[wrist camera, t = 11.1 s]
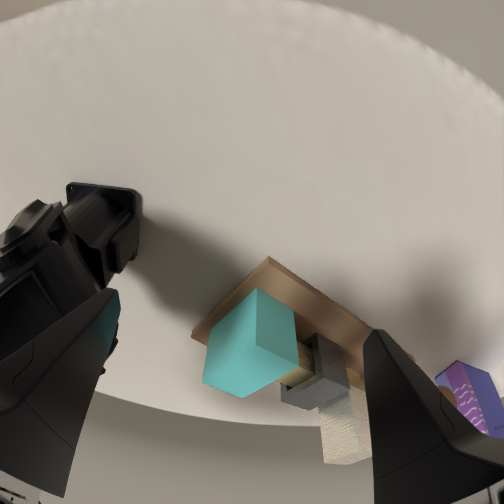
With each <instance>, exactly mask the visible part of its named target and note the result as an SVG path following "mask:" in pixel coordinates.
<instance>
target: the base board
mask: <svg viewBox="0 0 504 504" xmlns="http://www.w3.org/2000/svg"><path fill="white" fill-rule="evenodd" d="M256 287H257V288H258V289H260V290H262V291H263V292H265V293H266V294H268V295H270V296H271V297H273V298H275V299H276V300H278V301H279V302H281V303H283V304H284V305H286V306H288V307H289V308H291V309H292V310H293V314H294V322H295V331H296V340H297V342H299V343H302V342H303V341H305V340H306V339H307V338H309V337H310V336H312V335H313V334H315V333H316V332H317V333H319V334H321V335H322V336H324V337H326V338H328V339H329V340H331V341H333V342H335V343H336V344H338V345H340V346H341V347H342V352H343V356H344V360H345V365H346V367H348V368H350V369H352V370H354V371H356V372H358V373H359V374H360V378H361V382H362V386H363V391H365V385H364V367H363V344H364V342H365V340H366V339H367V337H368V336H369V334H370V333H371V331H372V330H373V329H372V328H371V327H369V326H368V325H366V324H365V323H364V322H362V321H361V320H359V319H358V318H356V317H355V316H354V315H352V314H351V313H349V312H348V311H346V310H345V309H344V308H342V307H341V306H339V305H338V304H336V303H335V302H334V301H332V300H331V299H329V298H328V297H326V296H325V295H324V294H322V293H321V292H319V291H318V290H316V289H315V288H314V287H312V286H311V285H309V284H308V283H306V282H305V281H304V280H302V279H301V278H299V277H298V276H296V275H295V274H293V273H292V272H291V271H289V270H288V269H286V268H285V267H283V266H282V265H281V264H279V263H278V262H276V261H275V260H273V259H272V258H270V257H269V256H268V257H267V258H266V259H265V260H264V261H263V262H262V263H261V264H260V265H259V266H258V267H257V268H256V269H255V270H254V271H253V272H252V273H251V274H250V275H249V276H248V277H247V278H246V279H245V280H244V281H243V282H242V283H241V284H240V285H239V286H238V287H237V288H236V289H235V290H234V291H233V292H232V293H231V294H230V295H229V296H227V297H226V298H225V299H224V300H223V301H222V302H221V303H220V304H219V305H218V306H217V307H216V308H215V309H214V310H213V311H212V312H211V313H210V314H209V315H208V316H207V317H206V318H205V319H204V320H203V321H202V322H201V323H200V324H199V325H197V326H196V327H195V328H194V329H193V330H192V335H191V338H193V339H195V340H196V341H198V342H200V343H202V344H204V345H206V346H208V342H209V336H210V330H211V329H212V328H213V327H214V326H215V325H216V324H217V323H218V322H219V321H220V320H222V319H223V318H224V317H225V316H226V315H227V314H228V313H229V312H230V311H231V310H233V309H234V308H235V307H236V306H237V305H238V304H239V303H240V302H241V301H242V300H243V299H245V298H246V297H247V296H248V295H249V294H250V293H251V292H252V291H253V290H254V289H255V288H256ZM407 354H408V353H407ZM408 356H409V357H410V358H411V359H412V360H413V361H414V359H413V357H412V356H410V355H409V354H408ZM414 362H415V361H414Z"/></svg>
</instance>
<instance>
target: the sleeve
mask: <svg viewBox="0 0 504 504" xmlns="http://www.w3.org/2000/svg"><path fill="white" fill-rule="evenodd" d="M301 344H303V345H305V346H307V347H309V348H311V349H313V356H314V363H315V370H316V375H314V376H313V377H311V378H309V379H308V380H306V381H304V382H302V383H301V384H299V385H297V386H295V387H290V386H288V385H285V384H283V383H280V384H281V401H282V402H285V403H288V404H291V405H294V406H297V407H300V408H303V409H307V410H311V409H313V408H315V407H317V406H319V405H321V404H323V403H325V402H327V401H329V400H331V399H333V398H335V397H337V396H339V395H340V394H342V393H344V392H346V391H348V390H350V389H351V388H350V384H349V379H348V374H347V369H346V365H345V360H344V356H343V352H342V347H341V346H340V345H338V344H336V343H335V342H333V341H331V340H329V339H328V338H326V337H324V336H322V335H321V334H319V333H317V332H316V333H315V334H313V335H312V336H310V337H309V338H307V339H306V340H305V341H303V342H302V343H301Z"/></svg>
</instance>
